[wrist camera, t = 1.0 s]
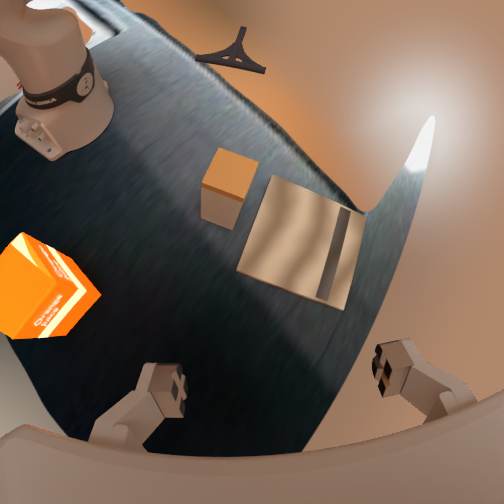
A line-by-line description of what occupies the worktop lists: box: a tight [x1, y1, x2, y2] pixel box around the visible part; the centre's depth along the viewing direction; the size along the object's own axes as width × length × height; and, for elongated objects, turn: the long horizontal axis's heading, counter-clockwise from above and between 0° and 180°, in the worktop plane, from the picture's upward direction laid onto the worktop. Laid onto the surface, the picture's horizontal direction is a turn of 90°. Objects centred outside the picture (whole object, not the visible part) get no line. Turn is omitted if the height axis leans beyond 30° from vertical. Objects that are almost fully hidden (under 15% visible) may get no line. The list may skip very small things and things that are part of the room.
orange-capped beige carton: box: [201, 148, 259, 230], centre depth 38 cm, size 5×5×12 cm
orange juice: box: [0, 232, 101, 339], centre depth 27 cm, size 8×9×20 cm
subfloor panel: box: [235, 175, 366, 311], centre depth 44 cm, size 17×16×1 cm
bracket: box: [195, 26, 266, 74], centre depth 52 cm, size 14×15×3 cm
